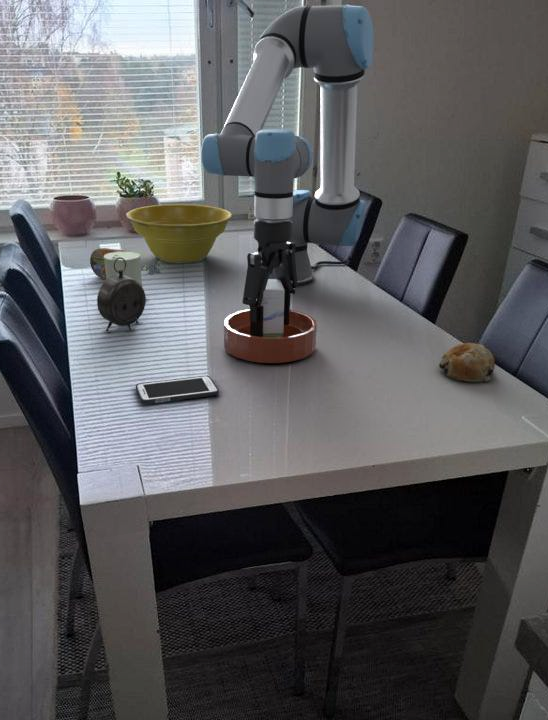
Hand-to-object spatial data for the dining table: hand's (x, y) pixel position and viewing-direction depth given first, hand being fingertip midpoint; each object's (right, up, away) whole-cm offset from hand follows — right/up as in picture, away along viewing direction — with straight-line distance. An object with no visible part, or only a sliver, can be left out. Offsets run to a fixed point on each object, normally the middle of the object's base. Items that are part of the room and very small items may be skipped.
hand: (270, 329), depth 142 cm
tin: (-42, +25, +48) cm, 69 cm away
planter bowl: (-26, +38, +68) cm, 82 cm away
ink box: (0, -2, +1) cm, 2 cm away
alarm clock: (-33, +3, +13) cm, 36 cm away
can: (-36, +14, +30) cm, 49 cm away
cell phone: (-18, -16, -17) cm, 29 cm away
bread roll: (+39, -11, -8) cm, 41 cm away
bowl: (0, -4, +2) cm, 4 cm away
